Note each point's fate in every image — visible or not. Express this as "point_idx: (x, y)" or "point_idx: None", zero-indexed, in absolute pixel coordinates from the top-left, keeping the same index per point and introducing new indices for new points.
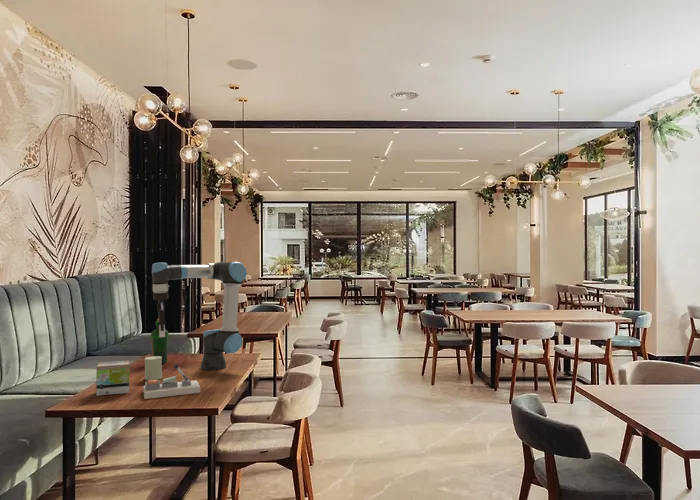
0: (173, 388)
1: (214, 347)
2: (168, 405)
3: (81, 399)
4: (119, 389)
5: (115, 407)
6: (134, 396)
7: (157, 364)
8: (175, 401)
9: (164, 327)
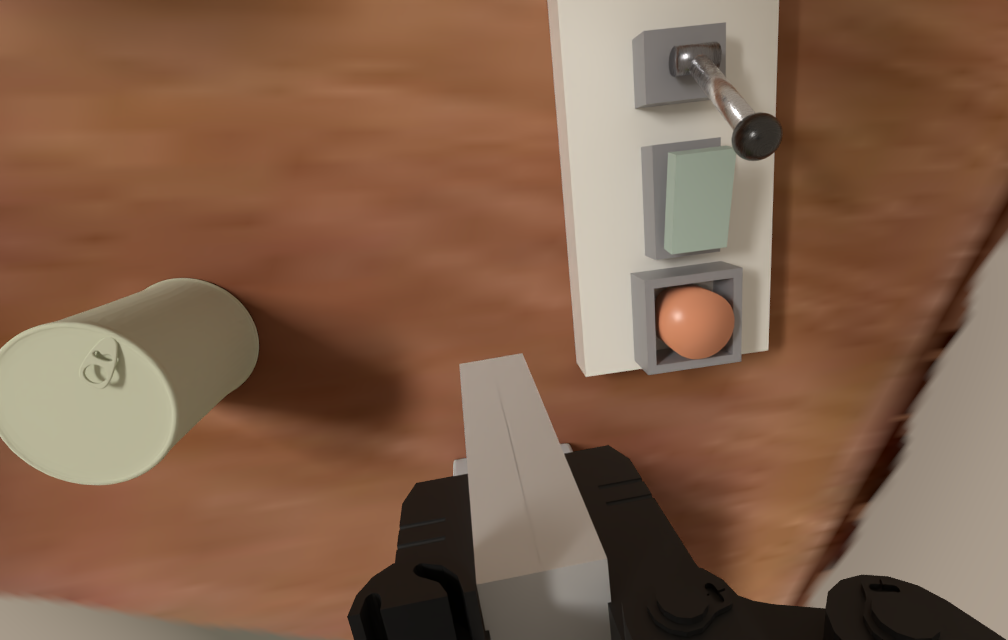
0: (744, 168)
1: None
2: (946, 191)
3: None
4: None
5: (837, 458)
6: (662, 399)
7: (181, 341)
8: (886, 151)
9: (571, 482)
